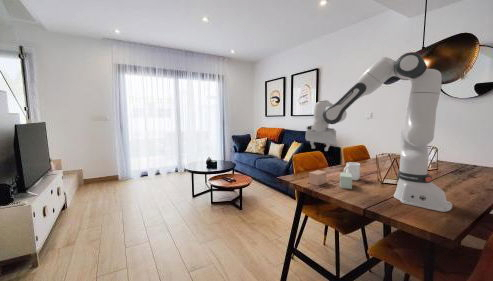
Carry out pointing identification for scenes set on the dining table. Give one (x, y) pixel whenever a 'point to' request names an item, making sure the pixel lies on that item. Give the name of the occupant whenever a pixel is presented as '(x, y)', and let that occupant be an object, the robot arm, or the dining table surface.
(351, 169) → the mug
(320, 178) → the dusty pink block
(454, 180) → the dining table surface
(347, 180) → the mint green block
